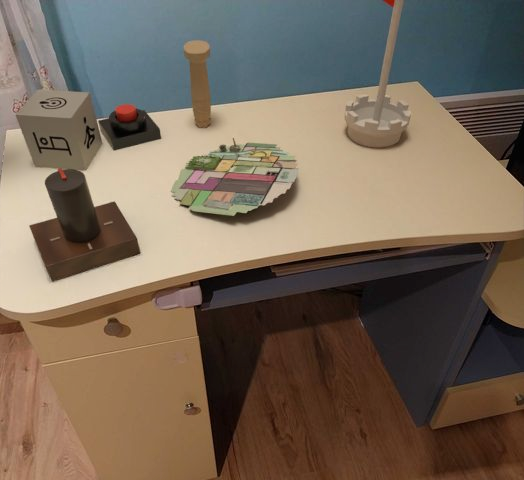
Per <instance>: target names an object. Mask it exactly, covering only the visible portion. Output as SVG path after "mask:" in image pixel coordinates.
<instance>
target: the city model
mask: <svg viewBox="0 0 524 480" xmlns="http://www.w3.org/2000/svg"><path fill="white" fill-rule="evenodd" d="M232 142H233V144H232V145H230V146H229V145H228V146H227V145H226V144H220V145H219V146H218V148H217V149H216V150H213V151H209V152H208V153H207V154H204V155H201V156H200V155H194V156H192V158H190V159H189V161H188V162H186V163H185V166H184V168H182V169H181V170H180V172H179V175H178V179H175V181H174V183H173V185H172V187H171V189H170V192H171V193H172V195H171V197H174V200H179V205H183V206H188V210H191V212H198V213H206V214H216V215H223V216H232V217H235V215H236V214H237V213H242V214H247V213H248V212H249V211H252V210H254V209H258V208H259V206H266V205H267V204H269V203H273V201H274V199H277V198H279V196H280V195H282V194H286V193H287V190H290V189H291V187H292V185H293V183H295V181H296V179H297V176H298V172H299V169H300V168H299V167H297V166H298V159H295V158H296V155H290V154H289V152H288V151H284V149H281V147H277V145H278V144H275V143H259V142H246V143H245V144H240V143H236V141H235V137H232Z"/></svg>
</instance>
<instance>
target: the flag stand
mask: <svg viewBox="0 0 524 480" xmlns="http://www.w3.org/2000/svg"><path fill="white" fill-rule="evenodd" d="M382 1H383V3H385V4H387V5H388V6H390V7H392V13H391V18H390V24H389V30H388V35H387V39H386V45H385V50H384V51H385V52H384V56H383V61H382V65H381V66H382V67H381V73H380V79H379V83H378V89H377V95H376V98H369V95H368V93H363V94H358V95H356V97H355V101H354V100H351V99H349V100H348V101H347V102H346V104H345V111H344V121H345V123H346V124H347V132H346V133H347V136H348V138H349V139H350V140H351V141H353V142H354V143H356V144H358V145H361V146H364V147H369V148H388V147H391V146H394V145H395V144H397V143H398V142H399V141H400V140H401V136H402V132H404V131H405V130H406V129H407V128H408V127H409V124H410V121H411V118H412V117H411V116H412V110H409V104H408V103H407V102H406V101H405V100H403V99H400V100H397V102H393V101H391V100H392V99H391V98H392V95H390V94H386V92H387V87H388V82H389V77H390V71H391V67H392V62H393V57H394V52H395V46H396V43H397V42H396V41H397V38H398V32H399V26H400V22H401V15H402V12H403V11H402V10H403V7H404V6H403V5H404V2H405V1H404V0H382Z"/></svg>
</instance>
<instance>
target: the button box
mask: <svg viewBox="0 0 524 480" xmlns="http://www.w3.org/2000/svg"><path fill="white" fill-rule="evenodd" d="M135 108H136V113H137V118H136V119H134V120H131V121H119V120H118V119H117V116H116V111H115V110H114V111H112V112H110V113H109V117H107V118H104V119H99V120H97V123H98V127H99V131H100V133H101V134H102V135H103V136H104V138H105V139H106V141H107V143H108V144H109V145H110V147H111V148H112V150H113V151H117V150H123V149H127V148H130V147H134V146H138V145H142V144H147V143H150V142H155V141H157V140H162V135H161V129H160V127H159V126H158V124H156V122H155V121H154V120H153V118H152V117H151V116H150V115H149V113H147V112H146V110H145V109H139V108H137V107H135Z"/></svg>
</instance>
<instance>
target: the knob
mask: <svg viewBox="0 0 524 480" xmlns="http://www.w3.org/2000/svg"><path fill="white" fill-rule="evenodd" d="M44 186H45V188H46V192H47V194H48V196H49V199H50V202H51V205H52V207H53V210H54V213H55V216H56V218H58V221H59V224H60V226H61V229H62V232H63V234H64V237H65V238H66V239H67V240H69V241H71V242H75V243H81V242H87V241H90V240H92V239H94V238H95V237H96V236H97V235H98V234H99V233H100V229H101V228H100V225H99V221H98V218H97V214H96V211H95V208H94V207H95V205H94V201H93V197H92V195H91V191H90V188H89V185H88V181H87V178H86V175H85V173H83V171H82V170H74V169H62V168H60V169H58V168H57V170H56V171H54V172H52V173H50V174H49V175H48V176H47V177H46V178H45V180H44Z"/></svg>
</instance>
